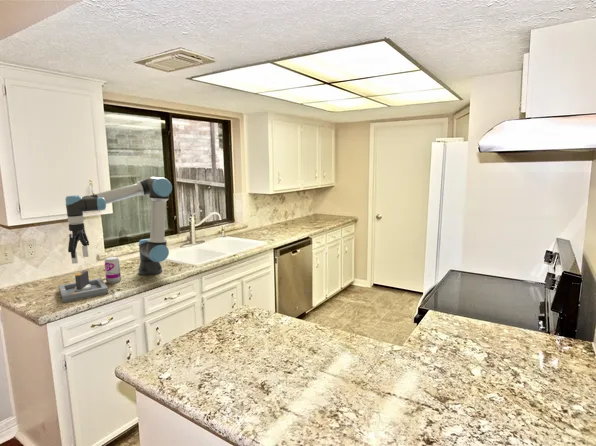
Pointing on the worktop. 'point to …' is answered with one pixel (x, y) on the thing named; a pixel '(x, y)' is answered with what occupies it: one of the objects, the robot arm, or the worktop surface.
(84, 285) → the dial
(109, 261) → the supplement can
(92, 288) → the dial panel
